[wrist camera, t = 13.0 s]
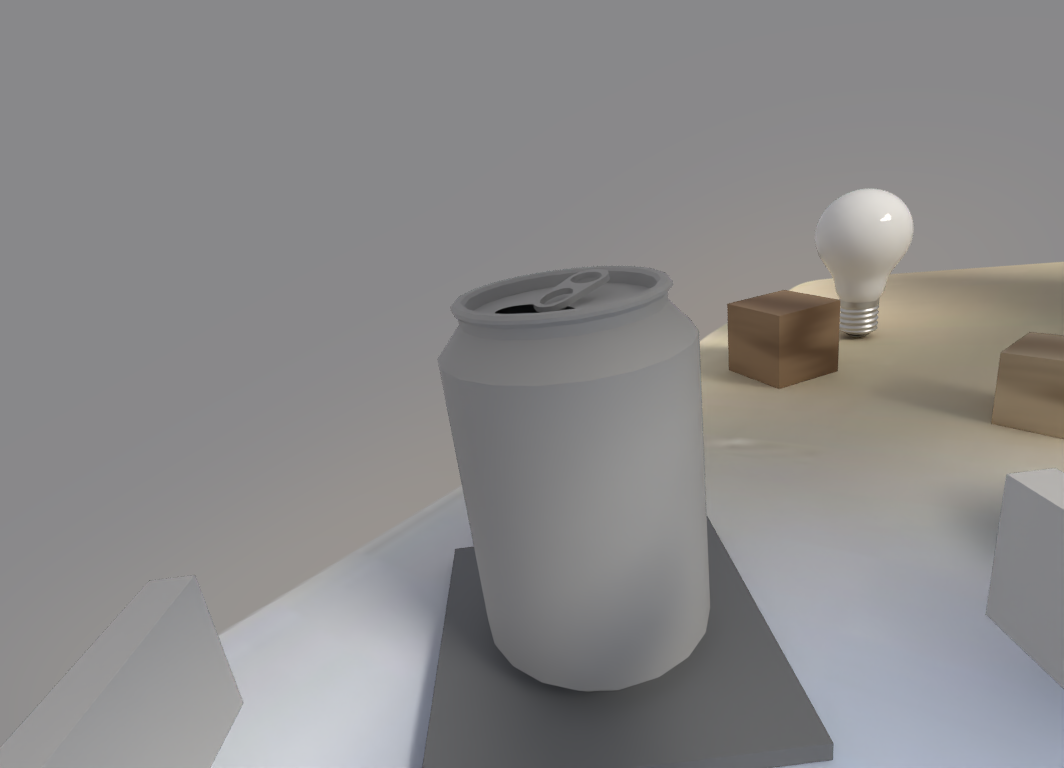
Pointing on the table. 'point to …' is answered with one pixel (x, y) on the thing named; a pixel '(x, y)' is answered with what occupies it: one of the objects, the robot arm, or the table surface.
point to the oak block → (1031, 385)
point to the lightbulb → (862, 251)
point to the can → (583, 471)
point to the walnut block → (784, 337)
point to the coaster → (623, 696)
